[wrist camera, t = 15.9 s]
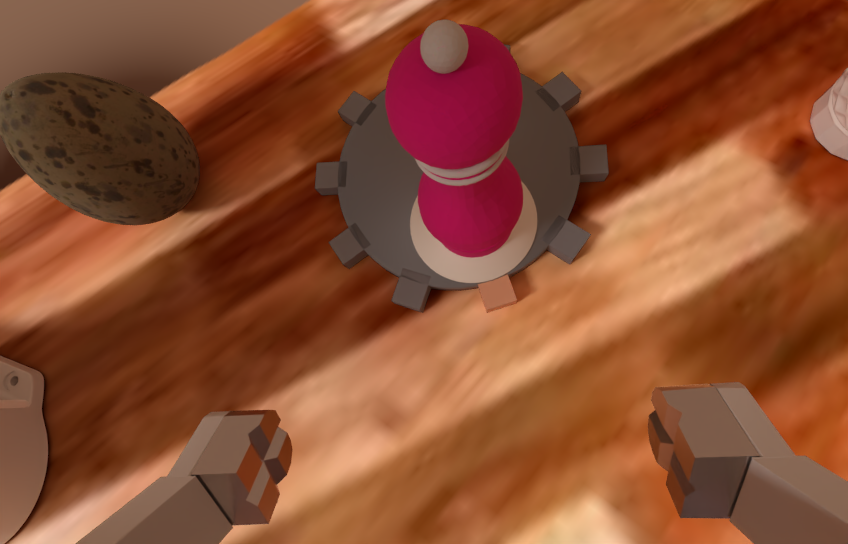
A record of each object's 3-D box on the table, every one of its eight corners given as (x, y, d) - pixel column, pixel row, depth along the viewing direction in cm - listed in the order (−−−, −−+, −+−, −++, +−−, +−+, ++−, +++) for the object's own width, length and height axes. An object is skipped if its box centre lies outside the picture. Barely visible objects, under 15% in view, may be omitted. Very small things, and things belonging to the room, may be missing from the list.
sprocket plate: (274, 240, 39) (264, 234, 37) (401, 21, 42) (397, 7, 40) (523, 370, 33) (524, 370, 31) (652, 105, 36) (660, 92, 34)
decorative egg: (182, 263, 40) (3, 203, 26) (107, 209, 43) (-92, 127, 29) (249, 167, 41) (114, 58, 27) (171, 120, 44) (11, -1, 30)
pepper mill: (475, 160, 36) (447, -88, 16) (540, 219, 34) (595, 16, 14) (410, 220, 35) (304, 40, 16) (471, 283, 33) (433, 164, 14)
